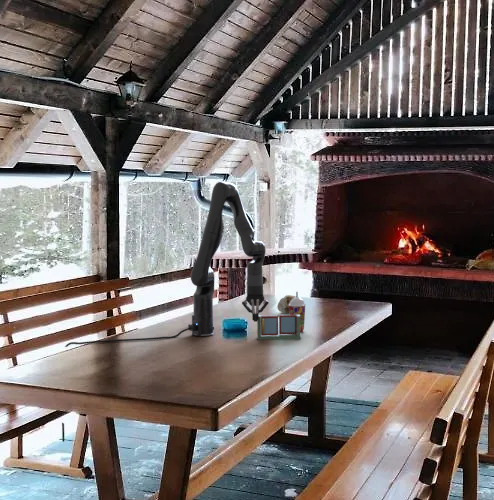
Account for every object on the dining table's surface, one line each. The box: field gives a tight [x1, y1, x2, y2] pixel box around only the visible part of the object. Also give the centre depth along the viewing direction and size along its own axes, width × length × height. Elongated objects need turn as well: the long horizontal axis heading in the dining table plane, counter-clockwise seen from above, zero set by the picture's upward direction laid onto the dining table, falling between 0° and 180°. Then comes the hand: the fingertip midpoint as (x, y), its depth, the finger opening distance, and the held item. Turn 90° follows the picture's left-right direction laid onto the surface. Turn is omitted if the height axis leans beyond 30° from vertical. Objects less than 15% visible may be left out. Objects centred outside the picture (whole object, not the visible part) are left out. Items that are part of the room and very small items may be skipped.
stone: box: [277, 294, 296, 314], centre depth 421 cm, size 17×12×10 cm
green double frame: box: [256, 314, 301, 341], centre depth 345 cm, size 4×20×11 cm, turn 93°
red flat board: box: [261, 315, 279, 336], centre depth 342 cm, size 4×8×9 cm, turn 92°
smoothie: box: [288, 291, 306, 334], centre depth 361 cm, size 8×8×20 cm
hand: (255, 321), depth 340 cm, fingers closed
